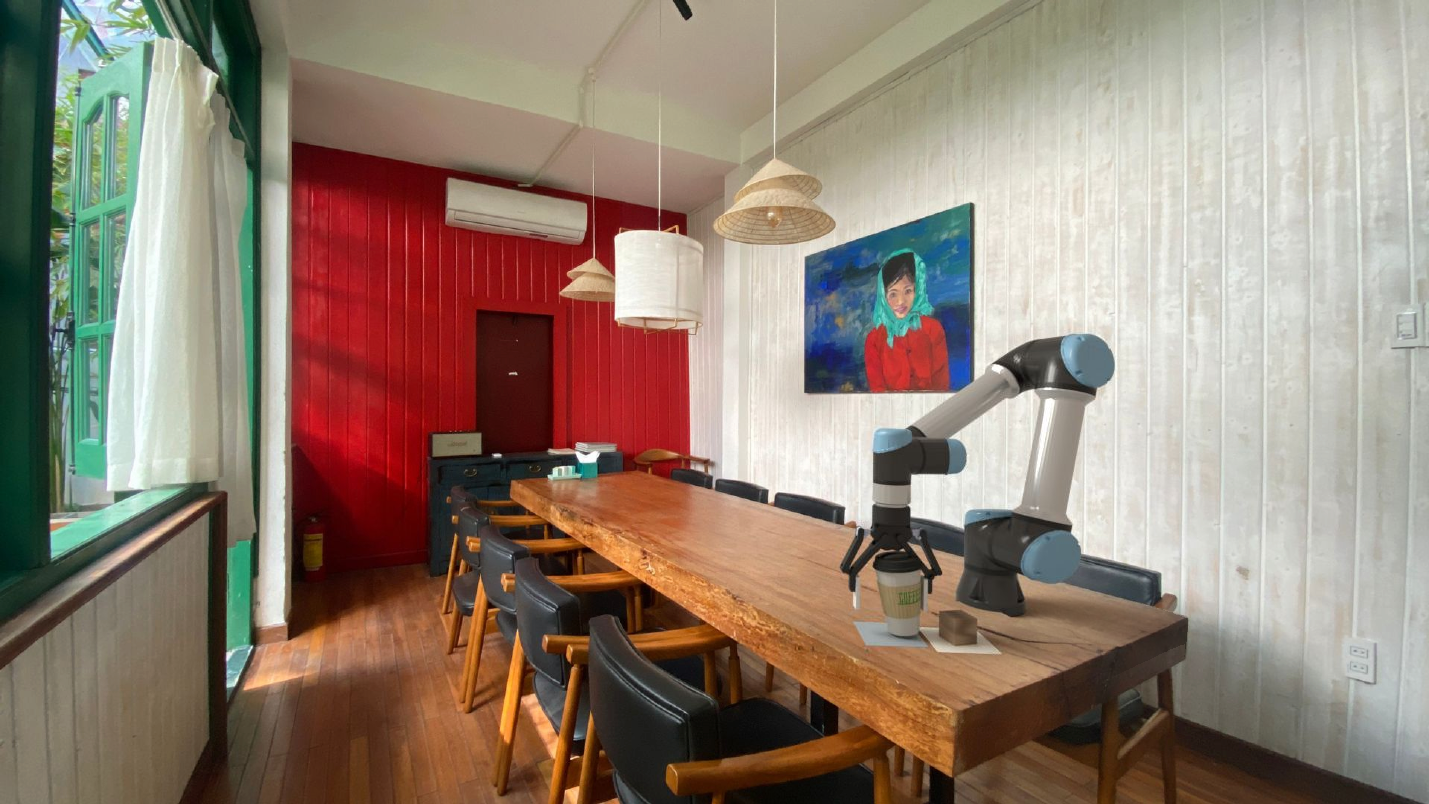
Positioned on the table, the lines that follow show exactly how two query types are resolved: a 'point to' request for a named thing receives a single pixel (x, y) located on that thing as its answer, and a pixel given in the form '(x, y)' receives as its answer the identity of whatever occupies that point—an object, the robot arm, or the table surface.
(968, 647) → the pad
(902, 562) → the coffee cup
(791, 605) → the table surface
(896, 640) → the pad
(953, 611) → the walnut block
